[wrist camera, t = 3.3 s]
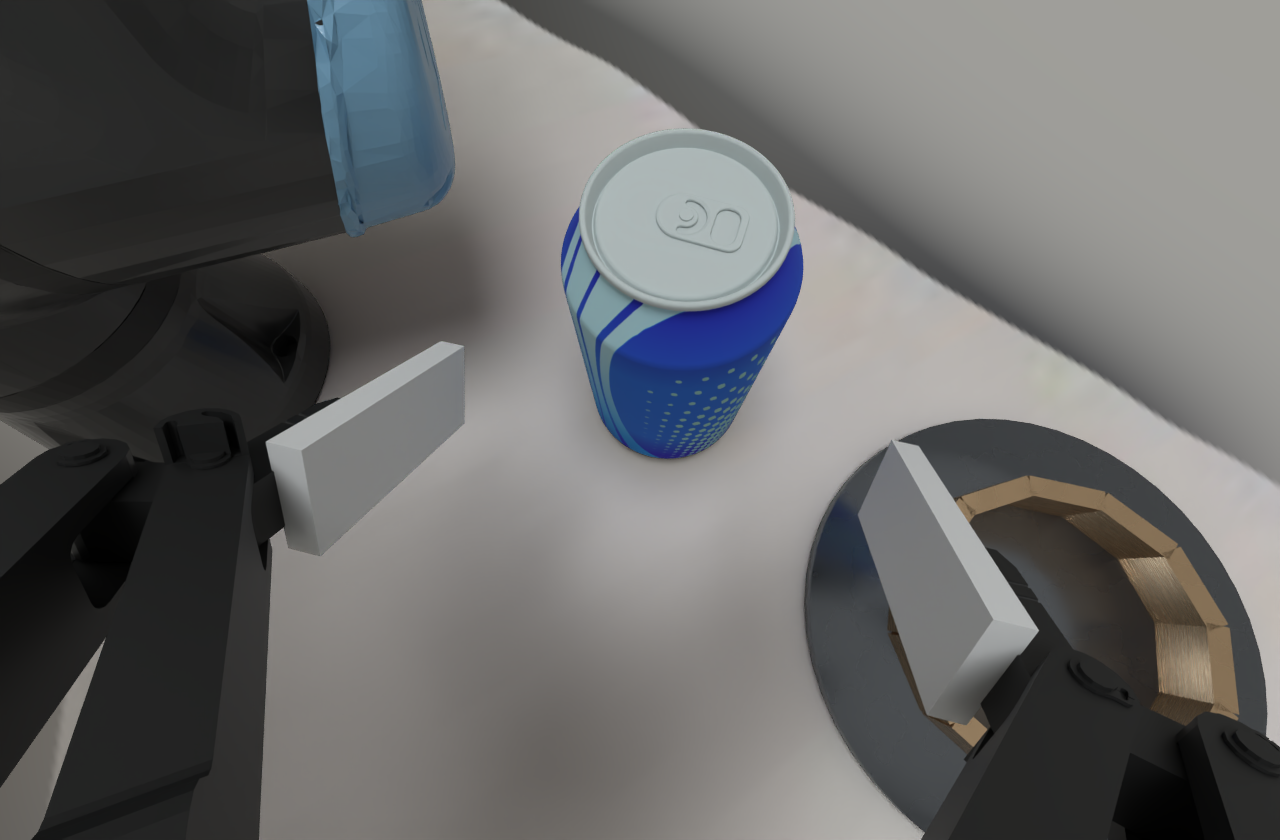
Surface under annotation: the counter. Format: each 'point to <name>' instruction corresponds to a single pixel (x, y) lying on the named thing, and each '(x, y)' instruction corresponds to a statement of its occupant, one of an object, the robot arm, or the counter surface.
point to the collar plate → (1059, 577)
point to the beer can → (679, 284)
